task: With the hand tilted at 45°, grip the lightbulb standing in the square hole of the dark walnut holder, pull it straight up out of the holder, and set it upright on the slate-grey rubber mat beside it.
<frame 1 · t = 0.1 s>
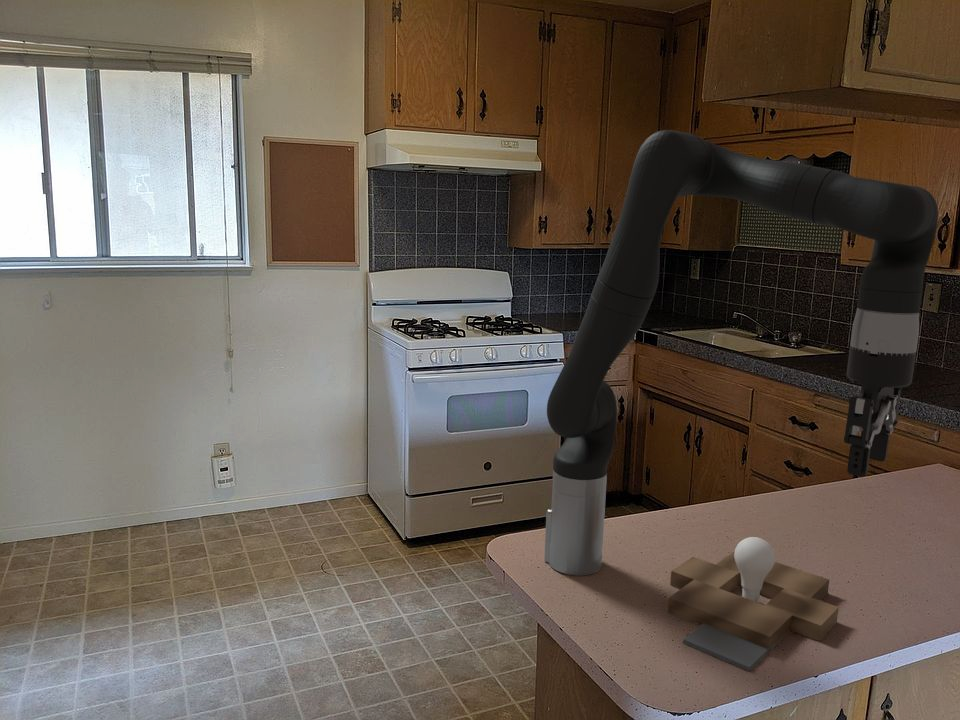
hand: (866, 467, 102), 29 cm above the countertop, tool pointing down, fingers open, 8 cm apart
slate mat: (729, 644, 113), on the countertop
walnut holder: (749, 602, 125), on the countertop
lightbulb: (749, 603, 125), on the countertop
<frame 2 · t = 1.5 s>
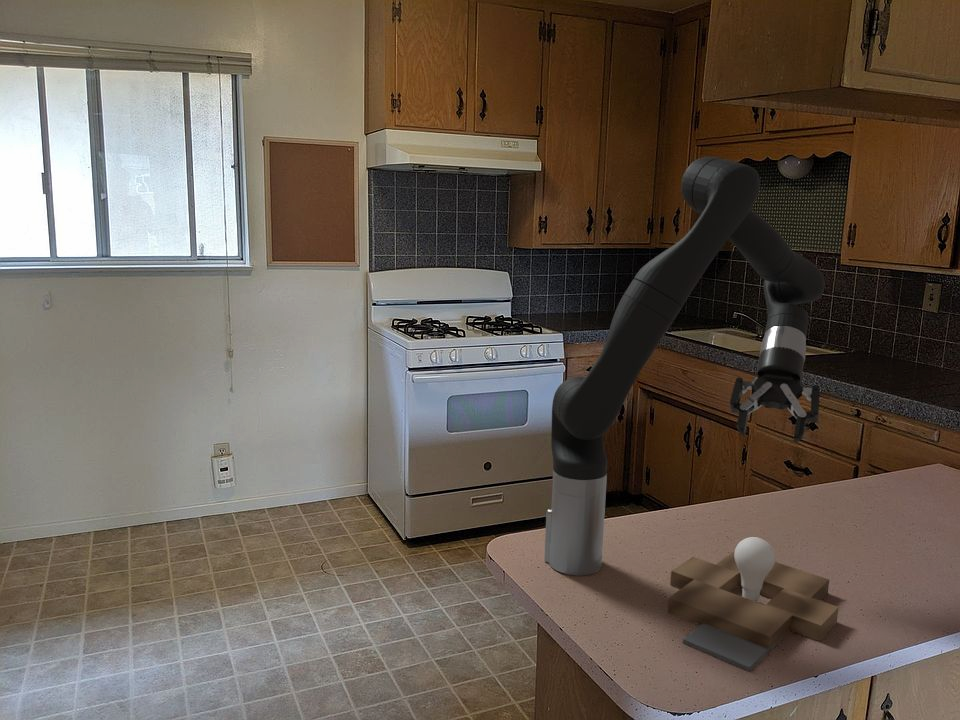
hand: (769, 436, 131), 25 cm above the countertop, tool tilted 45°, fingers open, 8 cm apart
nothing on the countertop moved.
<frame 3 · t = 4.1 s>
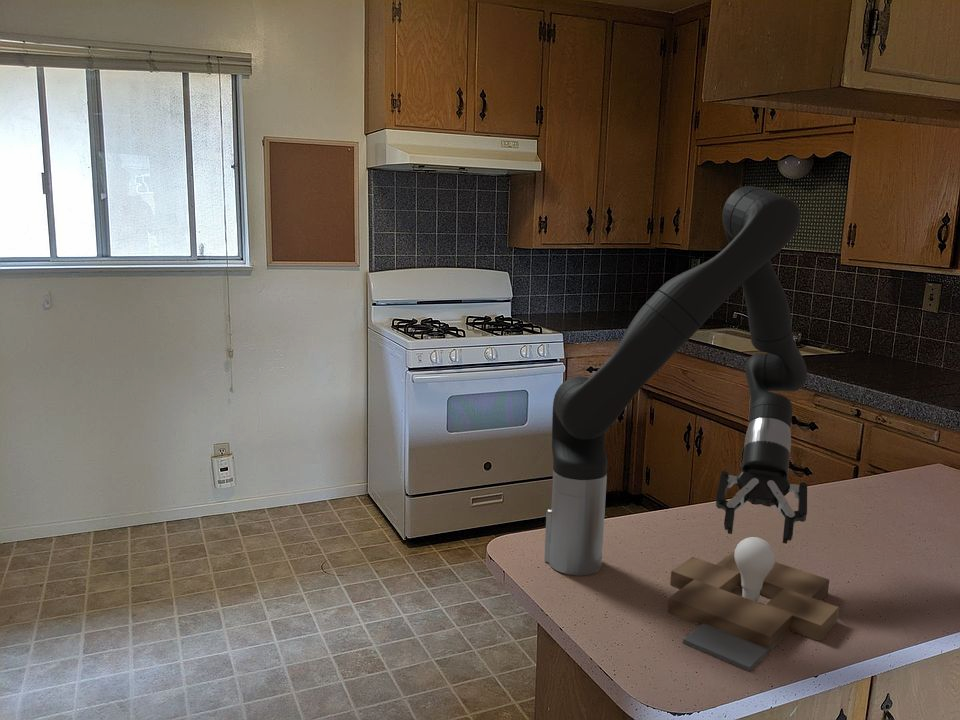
hand: (757, 536, 127), 10 cm above the countertop, tool tilted 45°, fingers open, 8 cm apart
nothing on the countertop moved.
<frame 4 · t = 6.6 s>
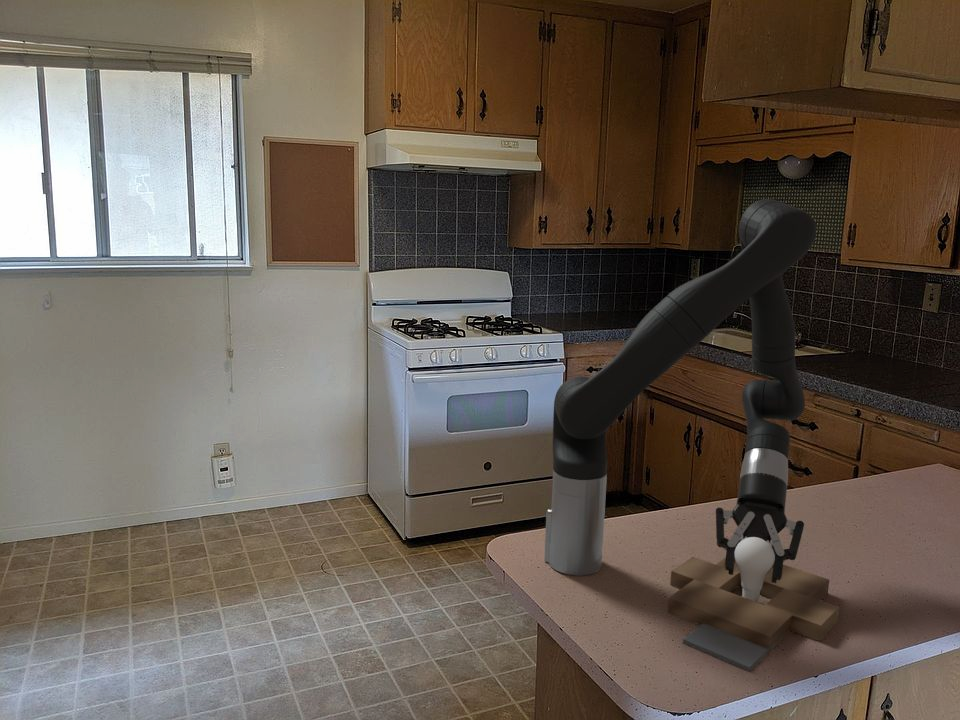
hand: (752, 576, 122), 5 cm above the countertop, tool tilted 45°, fingers closed on lightbulb, 6 cm apart
lightbulb: (749, 603, 125), on the countertop, touching gripper
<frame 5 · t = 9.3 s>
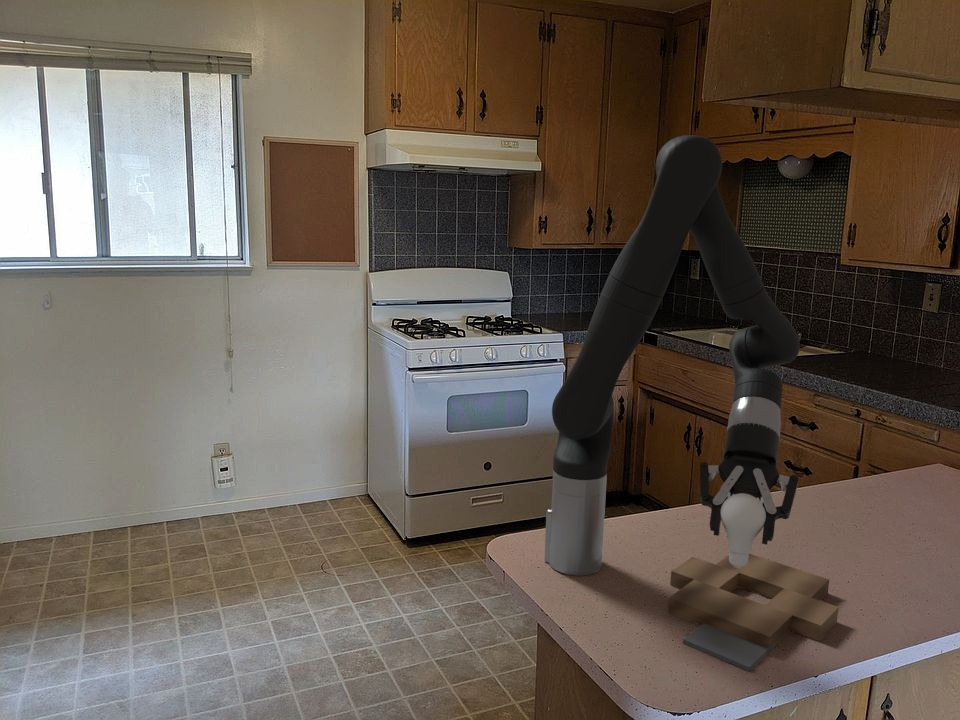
hand: (740, 537, 109), 17 cm above the countertop, tool tilted 45°, fingers closed on lightbulb, 6 cm apart
lightbulb: (737, 568, 111), point 11 cm above the countertop, touching gripper
when the fingers open (7 cm above the countertop, at t = 12.2 s): lightbulb drops 1 cm, resting on slate mat.
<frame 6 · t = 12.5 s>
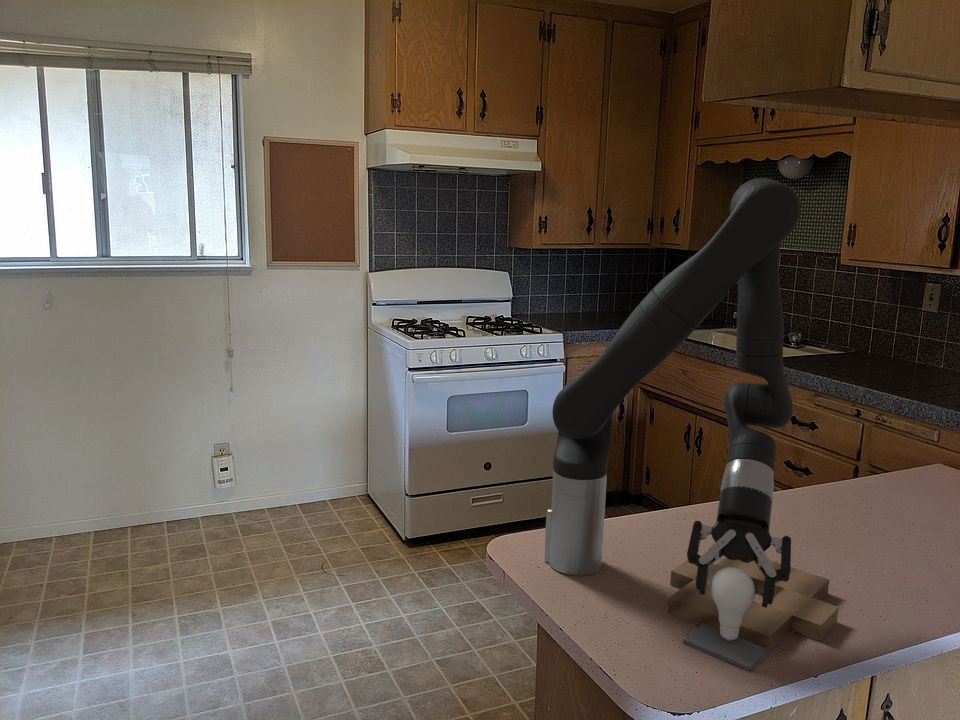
hand: (733, 599, 110), 8 cm above the countertop, tool tilted 45°, fingers open, 8 cm apart
lightbulb: (728, 640, 113), resting on slate mat
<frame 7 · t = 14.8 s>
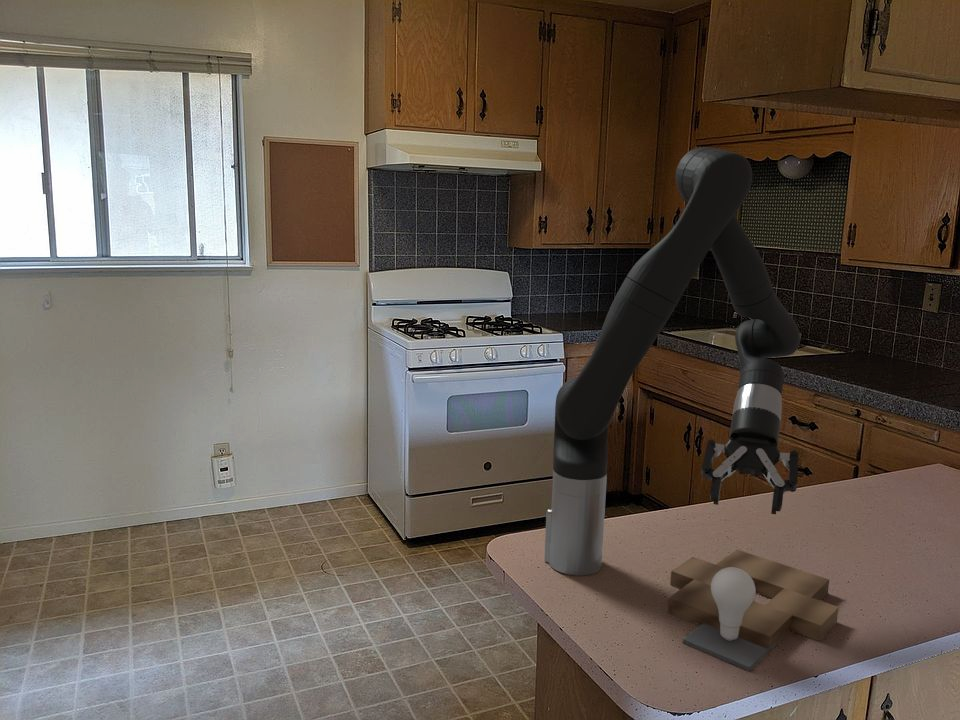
hand: (744, 507, 120), 17 cm above the countertop, tool tilted 45°, fingers open, 8 cm apart
nothing on the countertop moved.
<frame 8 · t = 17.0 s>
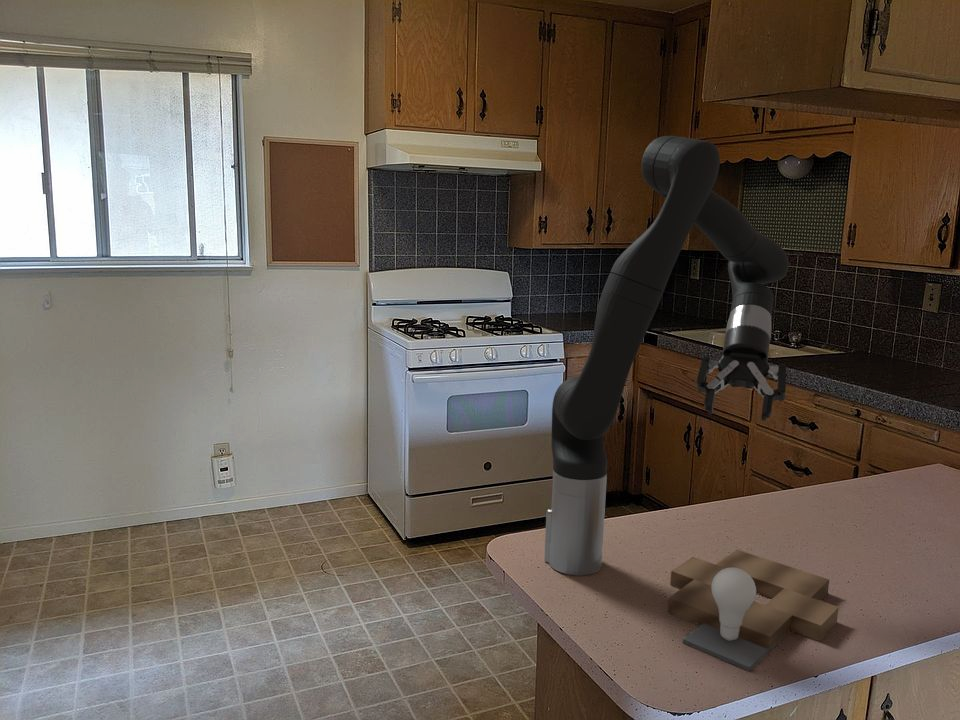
hand: (736, 414, 129), 29 cm above the countertop, tool tilted 45°, fingers open, 8 cm apart
nothing on the countertop moved.
at the end: lightbulb inside the target area on the slate mat (0.2 cm from its centre), point 0.4 cm above the slate mat's base; lightbulb tilted 0°; the gripper is holding nothing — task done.
